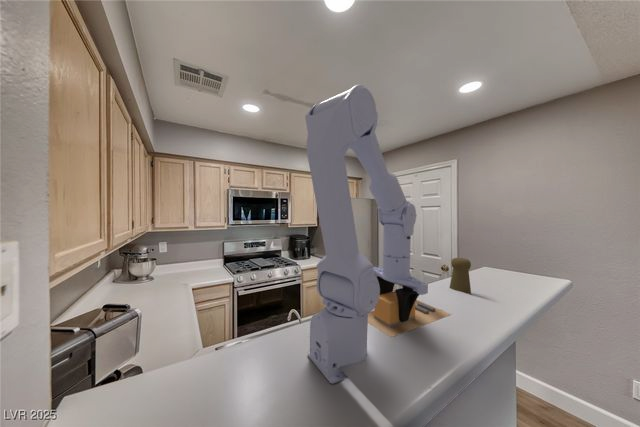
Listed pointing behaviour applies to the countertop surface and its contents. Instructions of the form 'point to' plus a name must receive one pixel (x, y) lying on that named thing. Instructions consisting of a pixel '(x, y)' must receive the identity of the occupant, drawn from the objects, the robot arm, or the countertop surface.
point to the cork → (460, 275)
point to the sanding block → (390, 310)
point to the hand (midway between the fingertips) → (394, 315)
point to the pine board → (409, 325)
